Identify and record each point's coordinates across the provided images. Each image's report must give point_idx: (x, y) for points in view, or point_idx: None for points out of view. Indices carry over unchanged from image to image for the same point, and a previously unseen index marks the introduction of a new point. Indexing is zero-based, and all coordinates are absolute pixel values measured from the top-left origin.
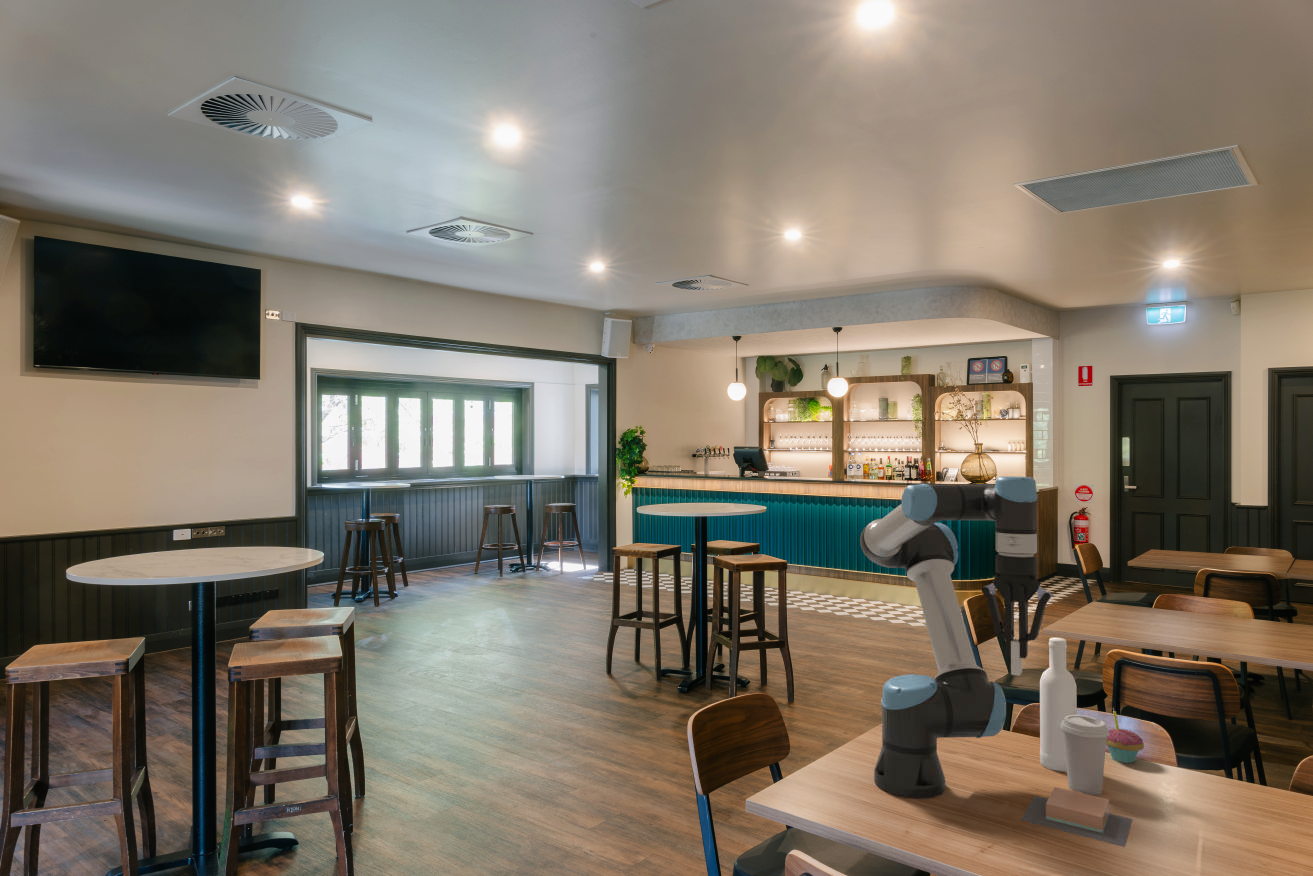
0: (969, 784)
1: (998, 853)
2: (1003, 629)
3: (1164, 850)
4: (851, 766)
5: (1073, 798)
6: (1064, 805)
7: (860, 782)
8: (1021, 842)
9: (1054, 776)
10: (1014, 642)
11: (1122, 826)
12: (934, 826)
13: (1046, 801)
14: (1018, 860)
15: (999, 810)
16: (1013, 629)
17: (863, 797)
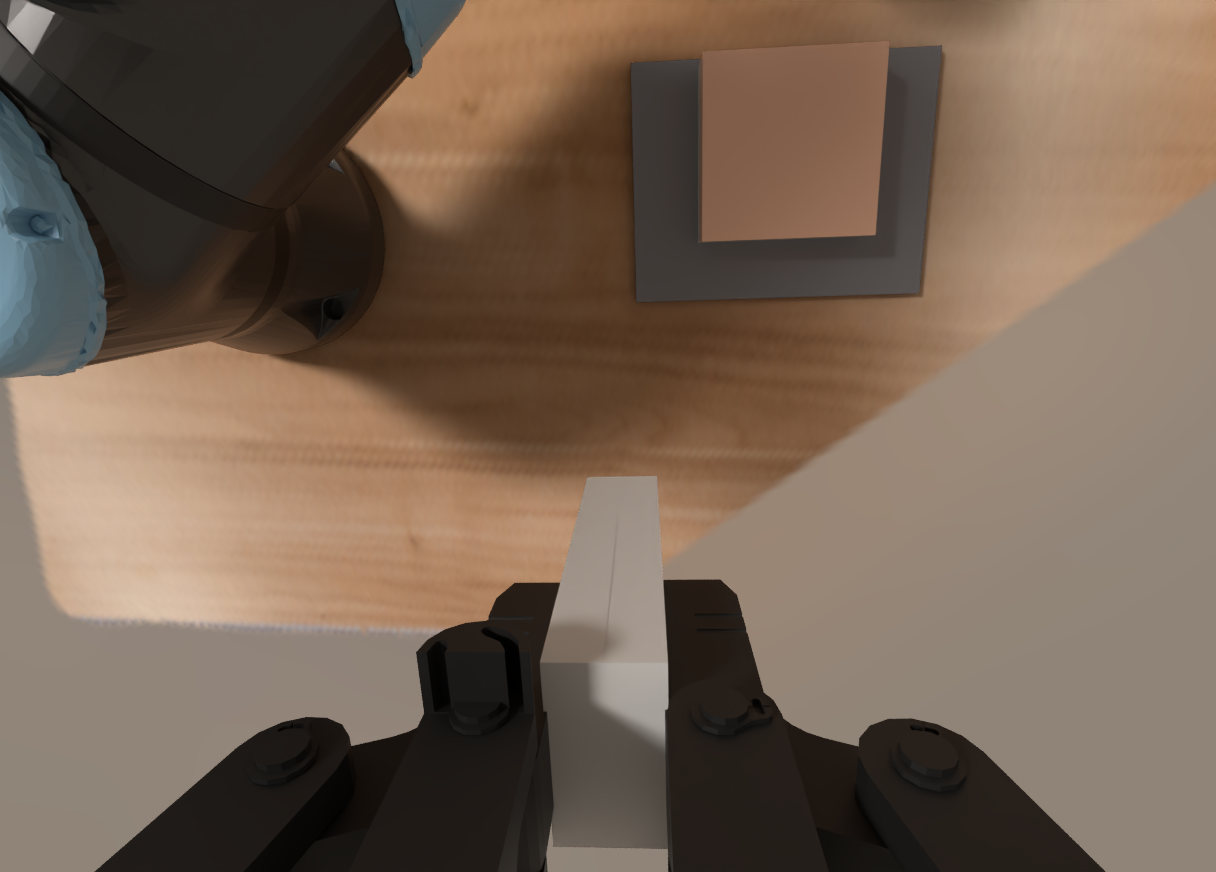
0: (418, 92)
1: None
2: (327, 843)
3: (1020, 218)
4: None
5: (775, 125)
6: (756, 215)
7: None
8: (665, 424)
9: None
10: (605, 841)
11: (912, 139)
12: (455, 473)
13: (674, 89)
14: (680, 524)
15: (562, 250)
16: (515, 861)
17: (228, 421)
